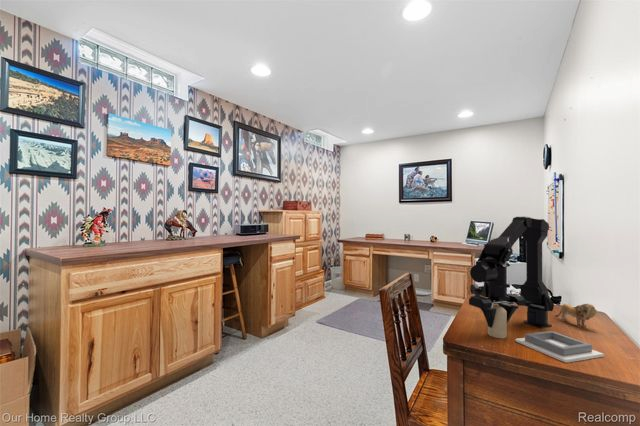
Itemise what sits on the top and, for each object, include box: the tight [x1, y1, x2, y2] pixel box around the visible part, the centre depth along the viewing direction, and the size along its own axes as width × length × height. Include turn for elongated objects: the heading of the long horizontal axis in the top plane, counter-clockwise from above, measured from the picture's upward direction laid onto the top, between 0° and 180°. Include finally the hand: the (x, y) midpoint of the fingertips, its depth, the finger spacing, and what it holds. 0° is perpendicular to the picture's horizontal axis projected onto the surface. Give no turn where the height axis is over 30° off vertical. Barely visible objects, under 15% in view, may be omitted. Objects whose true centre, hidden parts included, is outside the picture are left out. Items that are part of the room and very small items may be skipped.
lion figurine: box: [554, 303, 599, 328], centre depth 113 cm, size 15×5×9 cm, turn 13°
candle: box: [487, 304, 508, 339], centre depth 100 cm, size 6×6×10 cm
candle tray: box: [515, 330, 604, 364], centre depth 90 cm, size 15×15×3 cm
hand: (497, 326), depth 100 cm, fingers closed on candle, 5 cm apart
